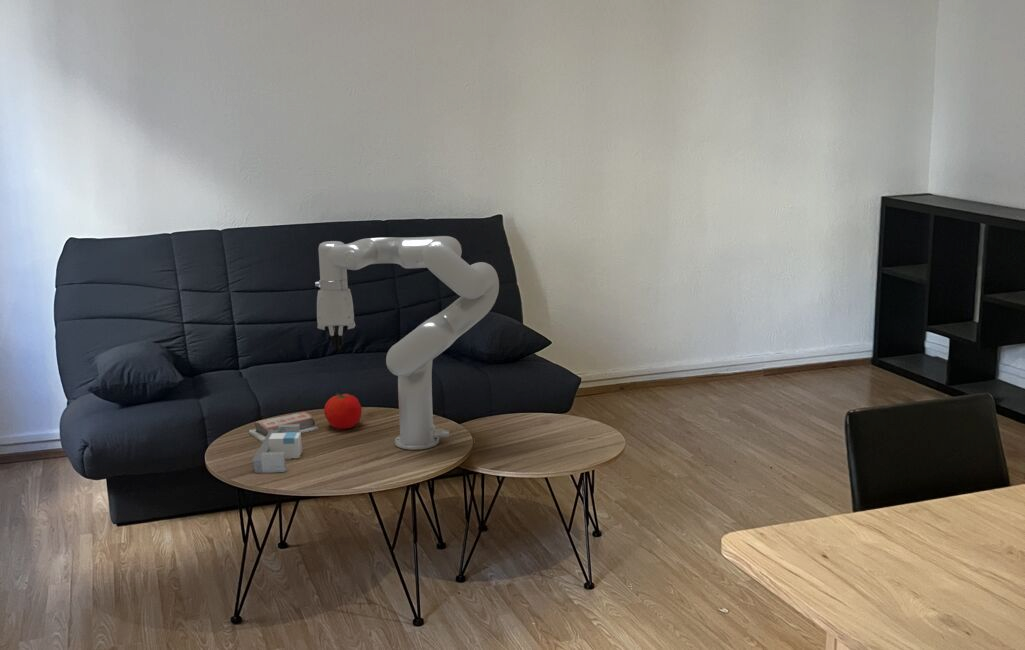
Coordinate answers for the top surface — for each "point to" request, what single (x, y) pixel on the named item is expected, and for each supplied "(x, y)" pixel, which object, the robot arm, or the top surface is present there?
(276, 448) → the block
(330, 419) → the tomato
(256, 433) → the packaged product
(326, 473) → the top surface
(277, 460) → the rail
